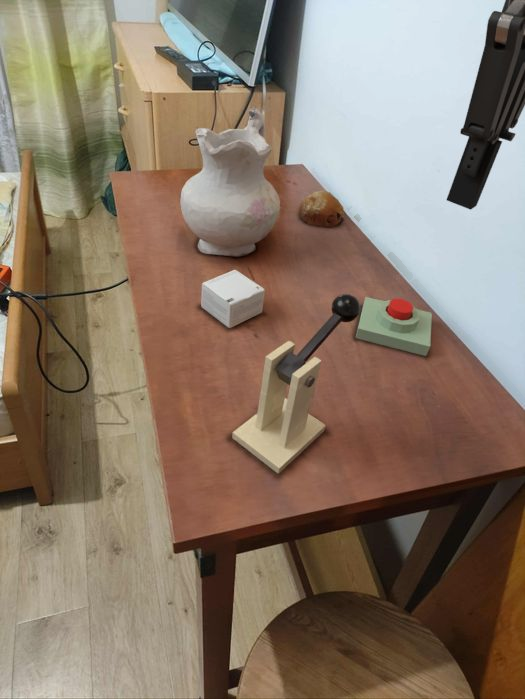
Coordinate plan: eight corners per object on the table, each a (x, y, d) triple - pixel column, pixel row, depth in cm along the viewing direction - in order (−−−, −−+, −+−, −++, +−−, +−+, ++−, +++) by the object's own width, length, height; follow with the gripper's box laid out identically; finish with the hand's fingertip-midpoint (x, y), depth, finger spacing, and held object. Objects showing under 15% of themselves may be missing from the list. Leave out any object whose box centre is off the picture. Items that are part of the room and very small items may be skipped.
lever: (342, 300, 67) (342, 283, 64) (365, 313, 66) (366, 296, 63) (274, 377, 63) (270, 362, 60) (297, 392, 61) (294, 378, 58)
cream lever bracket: (279, 400, 73) (293, 325, 64) (324, 431, 70) (345, 356, 61) (231, 438, 67) (239, 360, 58) (278, 474, 64) (294, 397, 55)
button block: (428, 322, 92) (435, 304, 89) (426, 356, 85) (434, 338, 82) (362, 306, 94) (367, 288, 91) (355, 338, 86) (360, 319, 84)
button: (410, 310, 88) (413, 302, 87) (409, 323, 85) (412, 315, 84) (387, 304, 89) (390, 296, 87) (385, 317, 86) (388, 309, 84)
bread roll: (317, 220, 127) (310, 188, 123) (354, 217, 120) (347, 182, 117) (296, 233, 120) (288, 200, 117) (333, 230, 114) (326, 195, 110)
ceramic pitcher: (202, 215, 117) (195, 98, 101) (286, 224, 114) (293, 105, 98) (172, 263, 100) (158, 131, 84) (269, 275, 98) (274, 142, 82)
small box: (233, 292, 93) (235, 268, 90) (263, 313, 89) (266, 289, 86) (199, 306, 88) (200, 282, 85) (229, 329, 84) (231, 304, 81)
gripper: (552, -97, 43) (454, 176, 58) (494, -117, 35) (398, 206, 50) (649, -88, 40) (518, 199, 55) (610, -107, 31) (470, 236, 47)
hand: (461, 202), depth 52 cm, fingers closed
